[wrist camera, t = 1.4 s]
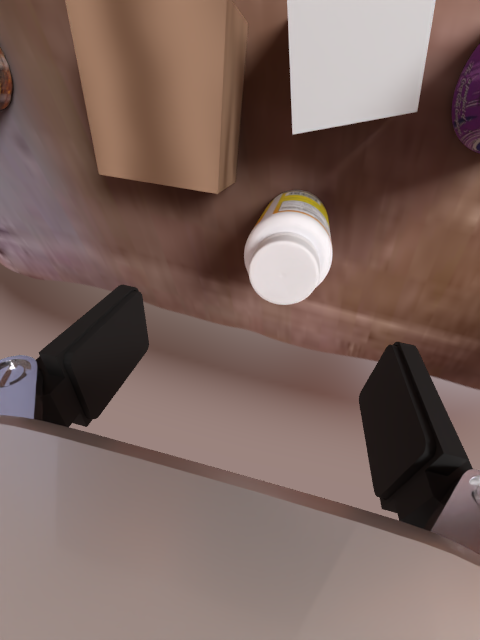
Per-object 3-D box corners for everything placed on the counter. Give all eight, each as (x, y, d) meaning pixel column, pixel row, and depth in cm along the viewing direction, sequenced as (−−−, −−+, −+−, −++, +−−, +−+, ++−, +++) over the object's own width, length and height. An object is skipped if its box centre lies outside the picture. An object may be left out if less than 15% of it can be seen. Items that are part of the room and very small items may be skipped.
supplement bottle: (276, 262, 26) (257, 325, 18) (252, 205, 23) (216, 248, 15) (337, 241, 23) (346, 303, 15) (317, 175, 21) (316, 206, 13)
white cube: (408, -22, 15) (451, -92, 10) (391, 115, 18) (417, 111, 13) (295, 13, 16) (285, -34, 12) (298, 132, 20) (292, 134, 15)
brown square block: (248, 24, 17) (226, -7, 13) (235, 181, 22) (217, 193, 18) (117, 13, 18) (61, -18, 14) (136, 166, 23) (98, 174, 20)
